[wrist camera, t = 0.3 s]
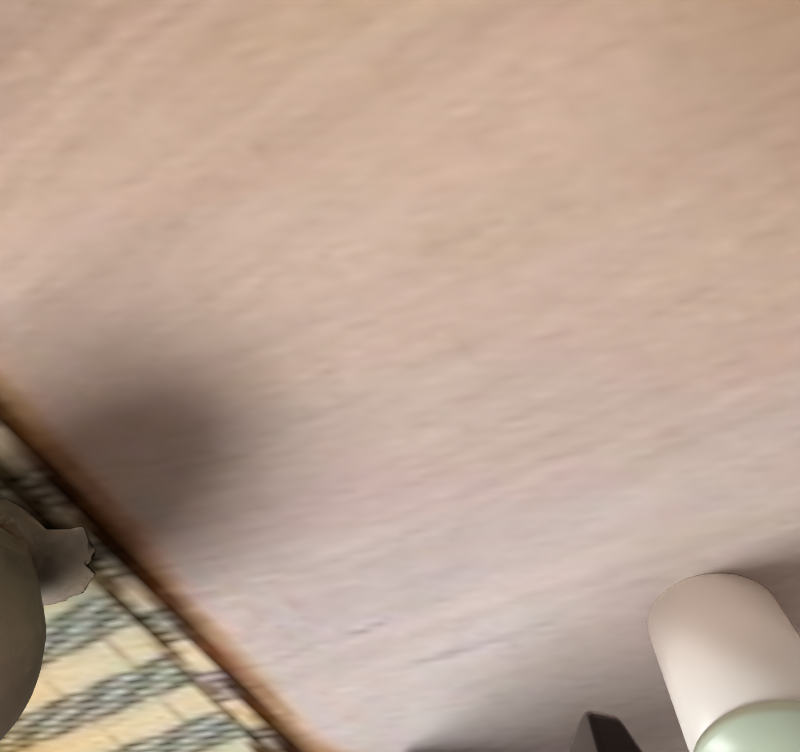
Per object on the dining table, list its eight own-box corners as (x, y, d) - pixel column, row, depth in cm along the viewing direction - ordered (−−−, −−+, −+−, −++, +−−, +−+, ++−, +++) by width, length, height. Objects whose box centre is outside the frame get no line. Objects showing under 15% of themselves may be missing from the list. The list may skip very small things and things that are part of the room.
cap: (774, 669, 24) (862, 828, 19) (644, 668, 25) (691, 820, 19) (788, 570, 22) (891, 714, 17) (647, 573, 23) (701, 711, 18)
